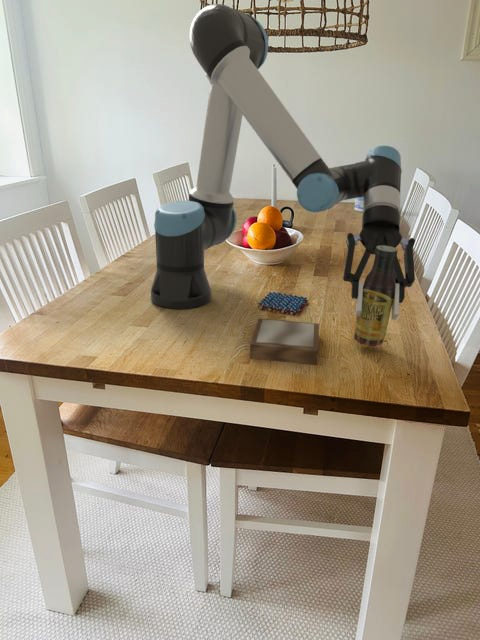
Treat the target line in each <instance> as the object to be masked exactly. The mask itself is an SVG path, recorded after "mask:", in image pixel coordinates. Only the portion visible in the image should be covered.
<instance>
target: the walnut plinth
mask: <svg viewBox="0 0 480 640" xmlns="http://www.w3.org/2000/svg"><path fill="white" fill-rule="evenodd" d="M256 322H257V323H256V326H255V328H254V331H253V335H252V339H251V342H250V347H249V359H255V360H265V361H266V360H267V361H275V362H287V363H295V364H296V363H298V364H305V365H306V364H307V365H315V366H316V365H318V360H319V359H318V358H319V357H318V356H319V337H320V335H319V334H320V333H319V332H320V331H319V329H320V323H316V322H315V323H314V322H304V321H294V320H293V321H291V320H282V319H270V318H269V319H268V318H258V319H257V321H256Z"/></svg>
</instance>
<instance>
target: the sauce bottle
mask: <svg viewBox="0 0 480 640" xmlns="http://www.w3.org/2000/svg"><path fill="white" fill-rule="evenodd" d="M398 252H399V251H398V249H397V247H396V248H394V247H391V246H384V245H383V246H381V245H380V246H377V247H376V249H375V255H374V260H373V264H372V268H371V270H370V271H369V272H368V274H367V275H366V277H365V279H364V281H363V295H362V311H361V314H360V316H356V319H355V325H354V333H353V339H354V340H355V342H357V343H358V344H360V345H364V346H368V347H372V348H373V347H377V346H381V345H382V344H384V341H385V338H386V335H387V331H388V330H387V329H388V325H389V320H390V315H391V313H392V303H393V298H394V297H393V295H394V291H395V287H396V284H395V280H394V277H393V266H394V261H395V258H396V256H397V257H398Z"/></svg>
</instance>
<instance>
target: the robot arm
mask: <svg viewBox="0 0 480 640" xmlns="http://www.w3.org/2000/svg"><path fill="white" fill-rule="evenodd" d="M189 44H190V47H191V51H192V54H193V55H194V57H195V59H196V61H197V62H198V64H199V66H200V67H201V69H202V70H203V72H204V73H205V74H204V75H205V77H206V78H207V80H208V81H209V84H210V87H209V92H208V100H207V109H206V116H205V120H204V128H203V136H202V144H201V151H200V158H199V166H198V173H197V180H196V186H195V187H194V188H191V189H190V190H189V192H188V193H189V194H188V200H177V201H174V202H173V201H170V202H166V203H164V204H162V205H160V206H159V207H158V208H157V209H156V210H155V213H154V225H153V227H154V233H155V254H156V255H155V256H156V260H155V261H156V271H155V274H154V277H153V281H152V284H151V288H150V300H151V302H152V303H153V304H155V305H156V306H160V307H162V308H167V309H173V310H174V309H175V310H178V309H179V310H183V309H184V310H185V309H193V308H197V307H201V306H204V305H207V304H208V303H210V301H211V300H212V289H211V286H210V283H209V279H208V277H207V274H206V271H205V251H206V250H208V249H209V248H212V247H215V246H217V245H220V244H222V243H224V242H225V241H227V239H229V238H230V237H231V235H233V233H234V232H235V229H236V226H237V222H238V221H237V220H238V219H237V212H236V211H235V209H234V207H233V206H234V203H235V202H234V201H235V199H234V196H233V195H232V194H231V192H230V191H231V186H232V181H233V173H234V168H235V162H236V156H237V150H238V143H239V138H240V132H241V127H242V121H243V117H244V119H245V120H246V122H247V123H248V124H249V125H250V127H251V128H252V130H253V131H254V132H255V133H256V135H257V136H258V137H259V139H260V140H261V142H262V143H263V144H264V146H265V147H266V149H267V150H268V152H270V154H271V155H272V157H273V158H274V160H275V161H276V162H277V164H278V165H279V167H281V169H282V171H283V172H284V173H285V175H286V176H287V177H288V178H289V180H290V182H291V183H292V184H293V186H294V187H295V189H296V199H297V201H298V203H299V205H300V206H301V208H303V209H304V210H305V211H308V212H310V213H320V212H321V213H322V212H324V211H327V210H331V208H333V207H334V206H335V205H337V204H339V203H341V202H343V201H347V200H353V199H356V198H359V197H364V204H363V212H362V221H361V231H360V232H359V233H357V234H354V233H352V232H349V233H347V236H346V239H345V240H346V241H345V243H346V247H347V251H346V256H345V257H346V259H345V263H344V264H345V265H344V269H343V270H344V271H343V277H342V279H343V281H344V282H349V283H351V292H350V293H351V298H352V299H354V300H356V306H355V317H357V316H360V314H361V311H362V295H363V285H364V280H362V279H361V278H362V275H363V273H364V270H365V268H366V266H367V264H368V261H369V259H370V257H371V255H374V256H375V249H376V247H377V246H380V245H381V246H383V245H384V246H391V247H394V248H396V249H397V247H398V246H399V245H401V249H402V251H404V252H403V263H404V273H403V270H402V267H401V264H400V261H399V258H398V255H397V256H396V258H395V261H394V266H393V277H394V280H395V284H396V287H395V291H394V295H393V297H394V298H393V303H392V307H391V320H394V321H396V320H397V318H398V316H399V312H400V304H403V301H404V300H405V295H406V294H405V292H406V290H405V289H406V288H411V287H412V286H413V284H414V283H415V280H416V277H415V275H416V274H415V263H414V261H415V260H414V246H415V242H416V239H415V238H413V237H411V238H409V239H408V238H405V237H403V235H402V234H401V232H400V231H401V230H400V225H401V223H400V222H401V221H400V220H401V213H400V212H401V187H402V184H401V183H402V173H403V172H402V171H403V170H402V161H401V160H402V159H401V158H402V157H401V154H400V152H399V150H398V149H396V148H395V147H394V146H390V145H377V146H375V147H374V148H372V149H370V150H368V152H367V154H366V157H365V160H362V161H359V162H355V163H350V164H346V165H338V166H334V167H329V166H328V165H327V163H326V162H325V161H324V159H323V158H322V156H321V155H320V153H319V152H318V151H317V150H316V148H315V146H314V145H313V143H311V140H309V139H308V137H307V135H306V134H305V133H304V132H303V130H302V129H301V127H300V126H299V125H298V123H297V122H296V120H295V118H293V117H292V115H291V113H290V112H289V111H288V109H287V107H286V106H285V105H284V104H283V102H282V101H281V100H280V98H279V97H278V95H277V94H276V93H275V92H274V90H273V88H271V86H270V84H269V83H268V81H267V80H266V79H265V78H264V76H263V75H262V73H261V72H260V71H259V69H260V68H261V67H262V66H263V64H264V63H265V62H266V59H267V56H268V51H269V39H268V36H267V32H266V29H265V28H264V27H263V25H262V23H260V21H258V20H257V19H256V18H255V17H254V16H252V15H250V13H245V12H243V11H240V10H238V9H234V8H232V7H230V6H228V5H225V4H221V3H214V4H209V5H207V6H204V7H203V8H202V9H201V10H199V11H198V12H197V14H196V15H195V17H193V20H192V22H191V25H190V28H189ZM359 241H360V243H361V244H362V246H363V247H364V248H365V251H364V252H363V254H362V256H361V259H360V261H359V264H358V265H357V268H356V270H355V272H354V273H352V269H353V268H352V266H353V260H354V254H355V248H356V246H357V245H358V243H359Z"/></svg>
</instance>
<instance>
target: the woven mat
mask: <svg viewBox="0 0 480 640" xmlns="http://www.w3.org/2000/svg"><path fill="white" fill-rule="evenodd" d="M309 301H310V300H308V297H304V296H300V295H296V294H295V295H293V294H286V293H281V292H275V291H272V292H268V294H266V296H264V297H263V298H262V300H260V302H258V303H257V304H258V306H257V308H258V310H263V309H264V311H267V310H268V312H271V311H272V312H274V313H275V312H276V314H277V313H278V314H286V315H288V314H290V316H293V315H294V314H295V315H294V316H299V314H301V313H303V312H302V311H303V310H304V307H306V306H307V304H308V303H309Z"/></svg>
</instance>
